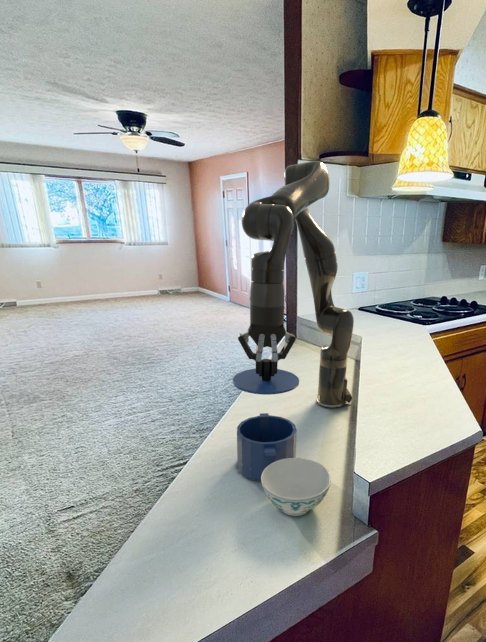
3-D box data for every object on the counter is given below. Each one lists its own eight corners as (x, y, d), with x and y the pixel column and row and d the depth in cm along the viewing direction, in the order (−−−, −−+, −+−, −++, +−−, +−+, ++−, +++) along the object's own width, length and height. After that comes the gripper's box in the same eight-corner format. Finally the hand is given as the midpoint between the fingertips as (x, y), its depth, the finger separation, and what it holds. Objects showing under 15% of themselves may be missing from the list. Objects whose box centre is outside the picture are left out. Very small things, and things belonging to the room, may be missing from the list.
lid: (294, 371, 107) (295, 350, 104) (303, 396, 92) (304, 371, 90) (232, 372, 103) (232, 350, 101) (232, 397, 89) (231, 372, 87)
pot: (289, 443, 116) (290, 409, 112) (300, 486, 98) (302, 448, 94) (237, 446, 113) (236, 411, 109) (238, 490, 95) (237, 451, 91)
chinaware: (254, 491, 95) (254, 463, 92) (315, 480, 100) (316, 453, 97) (270, 536, 82) (271, 504, 79) (339, 521, 87) (342, 491, 84)
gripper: (235, 305, 86) (236, 381, 92) (300, 306, 88) (297, 380, 95) (235, 298, 92) (236, 370, 99) (296, 299, 95) (293, 369, 102)
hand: (266, 375), depth 97 cm, fingers closed on lid, 2 cm apart
